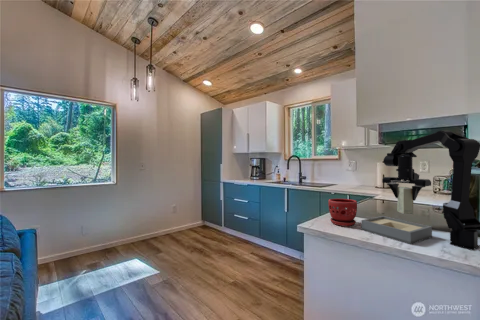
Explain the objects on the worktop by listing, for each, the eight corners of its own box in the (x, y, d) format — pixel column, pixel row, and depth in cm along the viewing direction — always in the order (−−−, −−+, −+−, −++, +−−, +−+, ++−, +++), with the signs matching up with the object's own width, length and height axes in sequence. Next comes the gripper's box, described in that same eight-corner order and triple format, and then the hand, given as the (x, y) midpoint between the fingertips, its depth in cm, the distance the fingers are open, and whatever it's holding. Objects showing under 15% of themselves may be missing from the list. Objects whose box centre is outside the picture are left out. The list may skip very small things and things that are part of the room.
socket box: (432, 237, 93) (432, 226, 93) (410, 244, 86) (410, 232, 86) (382, 224, 111) (382, 215, 111) (361, 229, 104) (361, 220, 104)
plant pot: (363, 225, 111) (362, 200, 111) (344, 229, 105) (344, 203, 105) (340, 218, 123) (340, 196, 123) (322, 222, 117) (322, 199, 117)
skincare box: (413, 214, 106) (414, 188, 105) (403, 214, 107) (403, 188, 106) (406, 211, 112) (407, 186, 112) (396, 211, 113) (397, 186, 113)
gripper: (437, 166, 104) (437, 200, 105) (394, 165, 121) (394, 195, 121) (424, 167, 99) (424, 203, 100) (381, 166, 116) (381, 196, 116)
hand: (405, 199), depth 109 cm, fingers closed on skincare box, 7 cm apart
